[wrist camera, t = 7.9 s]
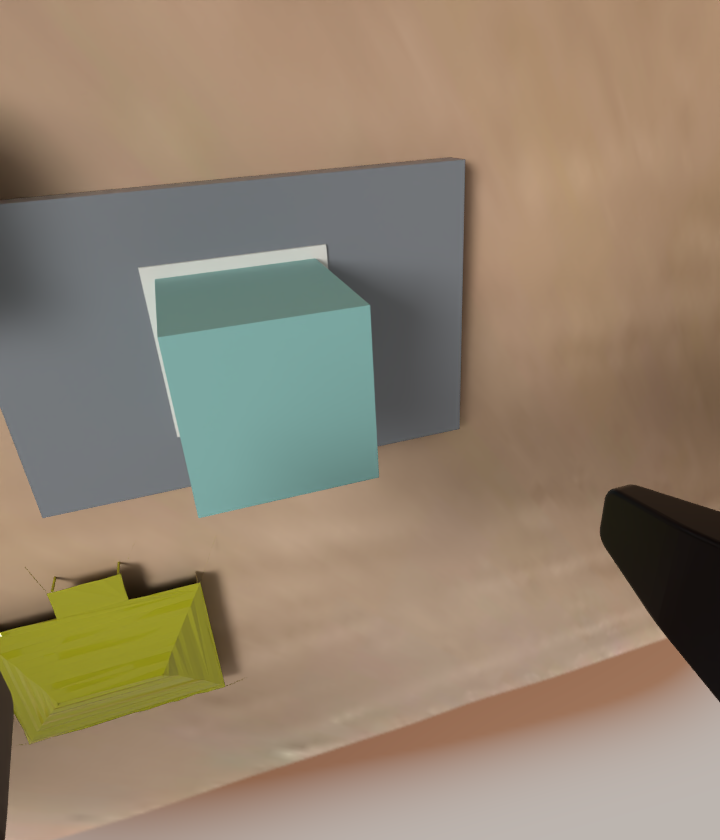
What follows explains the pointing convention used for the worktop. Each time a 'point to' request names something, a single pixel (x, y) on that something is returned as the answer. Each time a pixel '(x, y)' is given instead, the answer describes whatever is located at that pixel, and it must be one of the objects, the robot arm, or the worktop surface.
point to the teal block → (268, 382)
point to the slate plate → (199, 253)
